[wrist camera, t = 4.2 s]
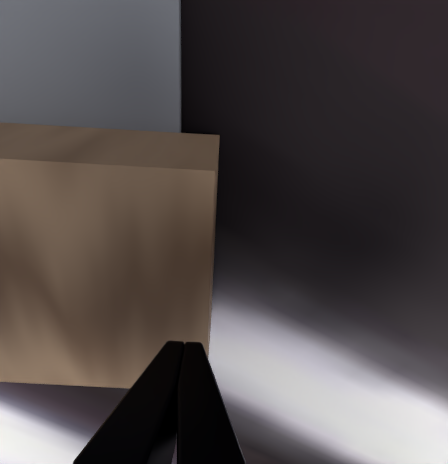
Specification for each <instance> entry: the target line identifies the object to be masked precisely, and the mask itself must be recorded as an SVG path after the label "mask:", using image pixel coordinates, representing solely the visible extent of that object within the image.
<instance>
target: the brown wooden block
mask: <svg viewBox="0 0 448 464" xmlns="http://www.w3.org/2000/svg"><path fill="white" fill-rule="evenodd" d="M219 138H220V135H208V134H191V133H174V132H157V131H139V130H122V129H105V128H87V127H70V126H53V125H36V124H18V123H1V122H0V382H17V383H37V384H56V385H75V386H94V387H113V388H131V387H132V386H133V384H134V383H135V382H136V380H137V379H138V378H139V377H140V375H141V374H142V373H143V371H144V370H145V369H146V368H147V366H148V365H149V364H150V362H151V361H152V360H153V359H154V357H155V356H156V355H157V353H158V352H159V351H160V350H161V348H162V347H163V346H164V344H165V343H166V342H167V341H169V340H172V341H183V342H184V343H186V342H187V341H190V342H201V343H202V344H203V346H204V349H205V352H206V355H207V357H208V354H209V341H210V327H211V310H212V288H213V267H214V245H215V224H216V203H217V181H218V160H219Z"/></svg>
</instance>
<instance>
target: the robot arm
mask: <svg viewBox="0 0 448 464" xmlns="http://www.w3.org/2000/svg"><path fill="white" fill-rule="evenodd" d="M176 439H177V464H246V462H245V459H244V457H243V454H242V451H241V448H240V446H239V443H238V440H237V437H236V435H235V432H234V429H233V426H232V424H231V421H230V418H229V415H228V413H227V410H226V407H225V404H224V402H223V399H222V396H221V393H220V390H219V388H218V385H217V382H216V379H215V377H214V374H213V371H212V368H211V366H210V363H209V360H208V357H207V355H206V352H205V349H204V346H203V344H202V343H201V342H190V341H187V342H186V343H184V342H183V341H172V340H169V341H167V342H166V343H165V344H164V346H163V347H162V348H161V350H160V351H159V352H158V353H157V355H156V356H155V357H154V359H153V360H152V361H151V362H150V364H149V365H148V366H147V368H146V369H145V370H144V371H143V373H142V374H141V375H140V377H139V378H138V379H137V380H136V382H135V383H134V384H133V386H132V387H131V388H130V389H129V391H128V392H127V393H126V395H125V396H124V397H123V398H122V400H121V401H120V402H119V404H118V405H117V406H116V407H115V409H114V410H113V411H112V413H111V414H110V415H109V416H108V418H107V419H106V420H105V422H104V423H103V424H102V425H101V427H100V428H99V429H98V431H97V432H96V433H95V434H94V436H93V437H92V438H91V440H90V441H89V442H88V443H87V445H86V446H85V447H84V449H83V450H82V451H81V452H80V454H79V455H78V456H77V458H76V459H75V460H74V462H73V464H171V462H172V458H173V453H174V449H175V444H176Z"/></svg>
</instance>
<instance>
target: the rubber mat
mask: <svg viewBox="0 0 448 464" xmlns="http://www.w3.org/2000/svg"><path fill="white" fill-rule="evenodd" d="M0 122H1V123H18V124H36V125H53V126H70V127H87V128H105V129H122V130H139V131H157V132H174V133H181V0H0Z"/></svg>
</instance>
